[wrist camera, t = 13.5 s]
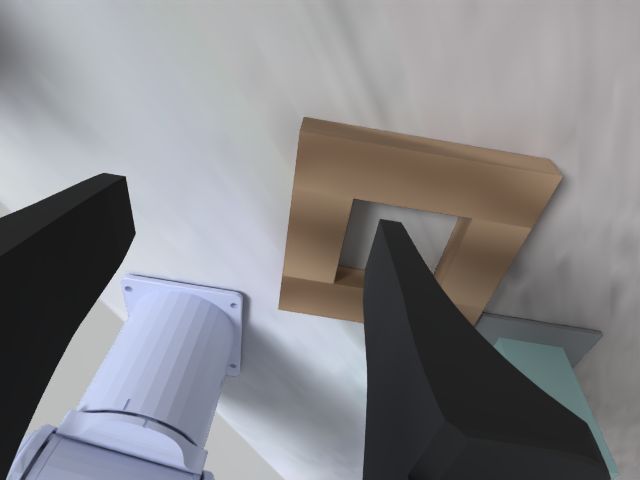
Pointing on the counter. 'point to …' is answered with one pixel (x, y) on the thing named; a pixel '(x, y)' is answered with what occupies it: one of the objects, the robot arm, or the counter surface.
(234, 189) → the counter surface
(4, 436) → the robot arm
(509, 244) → the block
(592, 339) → the rubber mat
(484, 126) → the counter surface
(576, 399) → the peg
